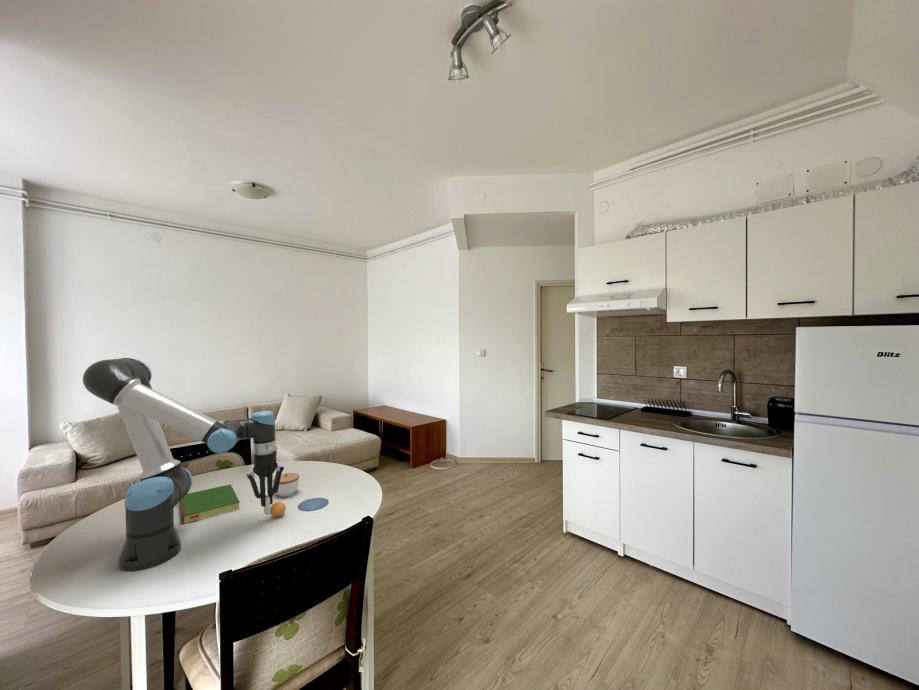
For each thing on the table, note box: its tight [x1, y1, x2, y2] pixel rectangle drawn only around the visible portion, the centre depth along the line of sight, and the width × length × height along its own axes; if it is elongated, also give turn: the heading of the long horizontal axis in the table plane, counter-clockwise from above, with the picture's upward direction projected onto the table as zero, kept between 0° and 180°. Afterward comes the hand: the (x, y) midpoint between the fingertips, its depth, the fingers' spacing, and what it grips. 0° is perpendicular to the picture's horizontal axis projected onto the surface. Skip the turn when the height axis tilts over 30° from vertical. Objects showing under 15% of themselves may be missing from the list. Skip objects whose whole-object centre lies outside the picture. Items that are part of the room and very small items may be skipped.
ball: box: [270, 501, 286, 518], centre depth 143 cm, size 6×6×6 cm
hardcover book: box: [179, 484, 240, 525], centre depth 152 cm, size 25×19×4 cm
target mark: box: [297, 497, 330, 512], centre depth 153 cm, size 12×12×1 cm
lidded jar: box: [272, 472, 300, 498], centre depth 163 cm, size 11×11×9 cm
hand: (267, 513), depth 139 cm, fingers closed
